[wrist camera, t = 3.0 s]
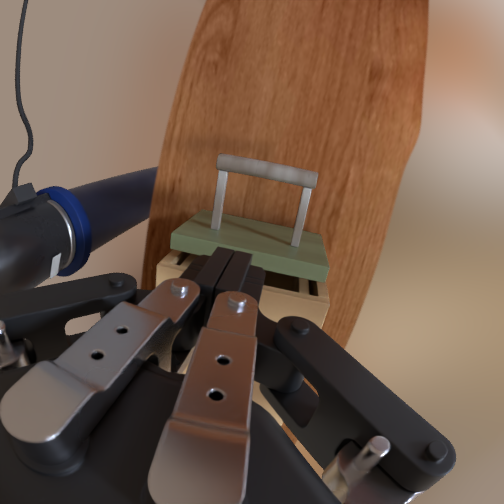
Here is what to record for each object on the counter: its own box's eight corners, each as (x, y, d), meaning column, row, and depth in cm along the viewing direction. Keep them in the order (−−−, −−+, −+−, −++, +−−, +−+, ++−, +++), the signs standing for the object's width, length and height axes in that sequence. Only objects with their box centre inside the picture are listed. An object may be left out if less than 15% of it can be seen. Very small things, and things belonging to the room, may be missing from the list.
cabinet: (196, 228, 28) (156, 264, 20) (320, 254, 28) (330, 304, 19) (185, 344, 34) (157, 398, 25) (285, 368, 33) (279, 429, 25)
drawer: (211, 148, 25) (180, 150, 18) (336, 173, 24) (352, 184, 17) (189, 329, 32) (165, 372, 25) (286, 351, 31) (282, 401, 24)
